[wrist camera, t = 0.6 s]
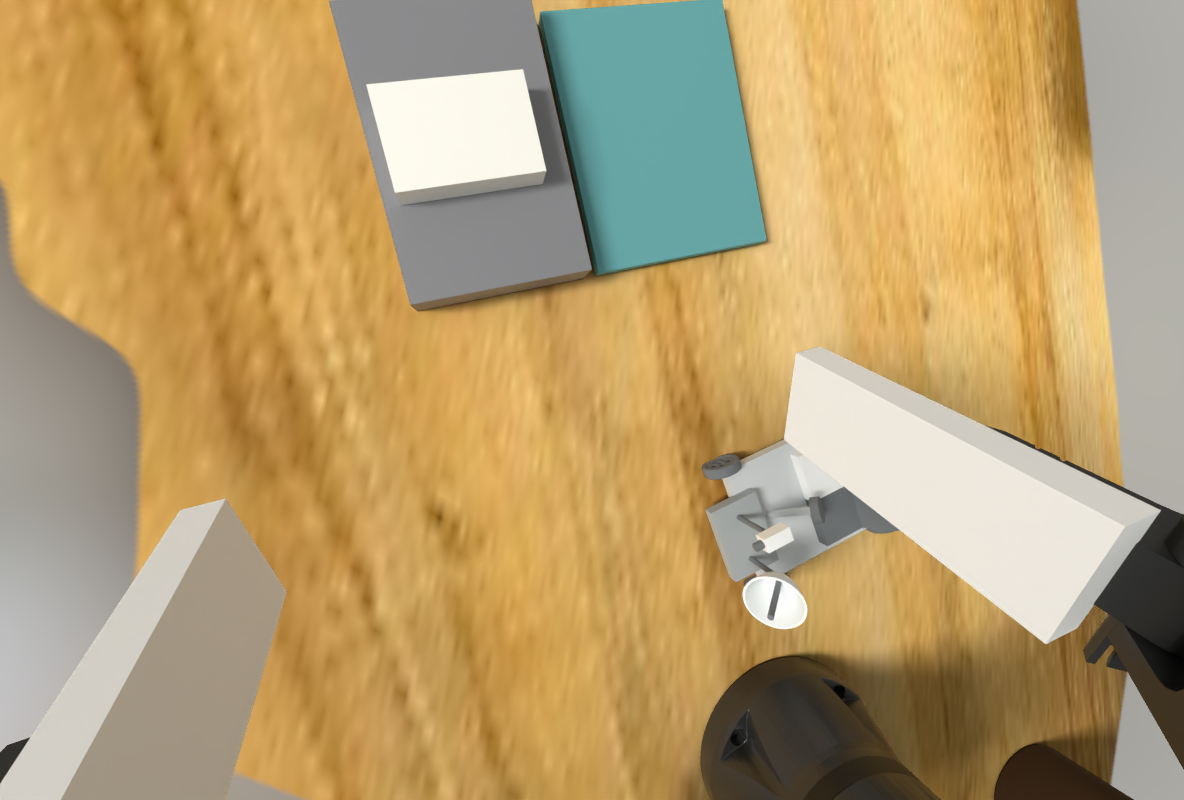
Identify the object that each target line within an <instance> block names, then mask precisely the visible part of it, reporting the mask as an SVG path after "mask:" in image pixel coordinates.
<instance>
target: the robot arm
mask: <svg viewBox="0 0 1184 800" xmlns="http://www.w3.org/2000/svg"><path fill="white" fill-rule="evenodd" d="M784 440H785V441H786V442H788V443H789V444H790V445H791V446H793V447H794V448H795V449H796V450H798V451H799V452H800V453H802V454H803V455H804V456H805V457H807V458H808V459H809V460H811V461H812V462H813V463H814V464H816V465H817V466H818V467H820V468H821V469H822V470H823V471H825V472H826V473H827V474H828V475H830V476H831V477H832V478H834V479H835V480H836V481H837V482H839V483H840V484H841V485H843V486H844V487H845V488H846V489H848V490H849V491H850V492H852V493H853V494H854V495H855V496H857V497H858V498H859V499H861V500H862V501H863V502H864V503H866V504H867V505H868V506H869V507H871V508H872V509H873V510H875V511H876V512H877V513H878V514H880V515H881V516H882V517H884V518H885V519H886V520H887V521H889V522H890V523H891V524H893V525H894V526H895V527H896V528H898V529H899V530H900V531H901V532H903V533H904V534H905V535H907V536H908V537H909V538H910V539H912V540H913V541H914V542H916V543H917V544H918V545H919V546H921V547H922V548H923V549H925V550H926V551H927V552H928V553H930V554H931V555H932V556H934V557H935V558H936V559H937V560H939V561H940V562H941V563H942V564H944V565H945V566H946V567H948V568H949V569H950V570H951V571H953V572H954V573H955V574H957V575H958V576H959V577H960V578H962V579H963V580H964V581H966V582H967V583H968V584H969V585H971V586H972V587H973V588H975V589H976V590H977V591H978V592H980V593H981V594H982V595H983V596H985V597H986V598H987V599H989V600H990V601H991V602H992V603H994V604H995V605H996V606H998V607H999V608H1000V609H1001V610H1003V611H1004V612H1005V613H1007V614H1008V615H1009V616H1010V617H1012V618H1013V619H1014V620H1015V621H1017V622H1018V623H1019V624H1021V625H1022V626H1023V627H1024V628H1026V629H1027V630H1028V631H1030V632H1031V633H1032V634H1033V635H1035V636H1036V637H1037V638H1039V639H1040V640H1041V641H1042V642H1044V643H1045V644H1047V643H1049V642H1051V641H1053V640H1055V639H1057V638H1059V637H1061V636H1063V635H1065V634H1067V633H1069V632H1071V631H1073V630H1075V629H1077V628H1078V627H1079V625H1080V624H1081V622H1082V621H1083V620H1084V618H1085V617H1086V615H1087V614H1088V613H1089V611H1090V610H1091V608H1092V607H1093V606H1094V605H1096V606H1097V607H1099V608H1100V609H1102V610H1103V611H1105V612H1106V613H1108V614H1109V615H1108V616H1107V617H1106V619H1105V620H1104V621H1103V623H1102V624H1101V625H1100V627H1099V628H1098V629H1097V631H1096V632H1095V633H1094V635H1093V636H1092V637H1091V639H1090V640H1089V641H1088V643H1087V645H1086V647H1085V648H1084V654H1085V659H1086V662H1089V663H1093V664H1095V663H1096V662H1097V660H1098V659H1099V658H1100V657H1101V655H1102V654H1103V653H1104V652H1105V650H1106V649H1107V648H1108V647H1109V645H1113V647H1114V649H1115V650H1114V651H1113V652H1112V654H1111V655H1110V656H1109V657H1108V660H1107V664H1106V665H1107V667H1110V668H1114V669H1118V670H1123V671H1127V672H1128V673H1129V675H1130V677H1131V678H1132V680H1133V682H1134V684H1135V685H1136V687H1137V689H1138V691H1139V692H1140V694H1141V696H1142V698H1143V699H1144V701H1145V703H1146V705H1147V706H1148V708H1149V710H1150V712H1151V713H1152V715H1153V717H1154V718H1155V720H1156V722H1157V724H1158V725H1159V727H1160V729H1161V731H1162V732H1163V734H1164V736H1165V738H1166V739H1167V741H1168V742H1169V745H1170V746H1171V748H1172V750H1173V752H1174V753H1175V755H1176V757H1177V758H1178V760H1179V762H1180V764H1181V765H1182V767H1183V769H1184V515H1183V514H1180V513H1178V512H1175V511H1173V510H1171V509H1168V508H1166V507H1164V506H1161V505H1159V504H1157V503H1155V502H1153V501H1151V500H1149V499H1147V498H1144V497H1142V496H1140V495H1138V494H1136V493H1134V492H1132V491H1130V490H1127V489H1125V488H1123V487H1121V486H1119V485H1117V484H1115V483H1113V482H1111V481H1109V480H1106V479H1104V478H1102V477H1100V476H1098V475H1096V474H1094V473H1092V472H1090V471H1087V470H1085V469H1083V468H1081V467H1079V466H1077V465H1075V464H1073V463H1071V462H1068V461H1064V462H1063V461H1061V460H1060V457H1058V456H1056V455H1054V454H1052V453H1049V452H1047V451H1045V450H1043V449H1036V448H1035V445H1033V444H1030V443H1028V442H1026V441H1024V440H1022V439H1020V438H1018V437H1016V436H1014V435H1011V434H1009V433H1007V432H1005V431H1002V430H998V429H995V428H992V427H988V426H985V425H982V424H980V423H978V422H976V421H974V420H972V419H970V418H968V417H966V416H964V415H962V414H960V413H957V412H955V411H953V410H951V409H949V408H947V407H945V406H943V405H941V404H939V403H937V402H935V401H933V400H930V399H928V398H926V397H924V396H922V395H920V394H918V393H916V392H914V391H912V390H910V389H908V388H905V387H903V386H901V385H899V384H897V383H895V382H893V381H891V380H889V379H887V378H885V377H883V376H880V375H878V374H876V373H874V372H872V371H870V370H868V369H866V368H864V367H862V366H860V365H858V364H855V363H853V362H851V361H849V360H847V359H845V358H843V357H841V356H839V355H837V354H835V353H833V352H831V351H828V350H826V349H824V348H822V347H817V348H813V349H809V350H806V351H802V352H798V353H796V357H795V364H794V371H793V378H792V386H791V393H790V400H789V407H788V414H787V421H786V428H785V435H784ZM286 592H287V591H286V590H285V588H284V587H283V585H282V584H281V582H280V580H279V579H278V577H277V576H276V574H275V573H274V571H273V570H272V568H271V567H270V565H269V564H268V562H267V561H266V559H265V558H264V556H263V554H262V553H261V551H260V550H259V548H258V547H257V545H256V544H255V542H254V541H253V539H252V538H251V536H250V535H249V533H248V532H247V530H246V529H245V527H244V525H243V524H242V522H241V521H240V519H239V518H238V516H237V515H236V513H235V512H234V510H233V509H232V507H231V506H230V504H229V503H228V501H227V499H222V500H218V501H214V502H210V503H206V504H202V505H199V506H195V507H191V508H187V509H183V510H180V511H179V513H178V514H177V516H176V517H175V519H174V520H173V522H172V523H171V525H170V526H169V528H168V529H167V531H166V533H165V534H164V536H163V537H162V539H161V540H160V542H159V543H158V545H157V546H156V548H155V549H154V551H153V552H152V554H151V555H150V557H149V558H148V560H147V561H146V563H145V564H144V566H143V567H142V569H141V570H140V572H139V574H138V575H137V577H136V578H135V580H134V581H133V583H132V584H131V586H130V587H129V589H128V590H127V592H126V593H125V595H124V596H123V598H122V599H121V601H120V602H119V604H118V606H117V607H116V608H115V610H114V612H113V613H112V615H111V616H110V618H109V619H108V621H107V622H106V624H105V625H104V627H103V628H102V630H101V631H100V633H99V634H98V636H97V637H96V639H95V640H94V642H93V643H92V645H91V647H90V648H89V650H88V651H87V653H86V654H85V656H84V657H83V659H82V660H81V662H80V663H79V665H78V666H77V668H76V669H75V671H74V672H73V674H72V675H71V677H70V678H69V680H68V681H67V683H66V685H65V686H64V688H63V689H62V691H61V692H60V694H59V695H58V697H57V698H56V700H55V701H54V703H53V704H52V706H51V707H50V709H49V710H48V712H47V713H46V715H45V716H44V718H43V719H42V721H41V722H40V724H39V726H38V727H37V728H36V730H35V732H34V733H33V735H32V736H31V737H30V738H27V739H25V740H21V741H18V742H15V743H12V744H9V745H7V746H6V747H5V748H4V749H3V750H2V751H1V752H0V800H226V796H227V793H228V789H229V786H230V783H231V780H232V776H233V773H234V769H235V766H236V763H237V759H238V756H239V752H240V749H241V746H242V742H243V739H244V735H245V732H246V729H247V725H248V722H249V718H250V715H251V712H252V708H253V705H254V701H255V698H256V695H257V691H258V688H259V684H260V681H261V678H262V674H263V671H264V667H265V664H266V661H267V657H268V654H269V650H270V647H271V644H272V640H273V637H274V633H275V630H276V626H277V623H278V620H279V616H280V613H281V609H282V606H283V603H284V599H285V596H286ZM701 772H702V777H703V781H704V785H705V787H706V790H707V792H708V794H709V796H710V798H711V800H940V799H939V798H938V797H937V796H936V795H935V794H934V793H933V792H932V791H931V790H930V789H929V788H927V787H926V786H925V785H924V784H923V783H922V782H921V781H920V780H919V779H918V778H917V777H915V776H914V775H913V774H912V773H911V772H910V771H909V770H908V769H907V768H906V767H905V766H904V765H903V764H902V763H901V762H900V761H899V759H898V758H897V756H896V754H895V753H894V751H893V750H892V748H891V746H890V745H889V743H888V742H887V740H886V739H885V737H884V735H883V734H882V732H881V731H880V729H879V727H878V726H877V724H876V723H875V721H874V719H873V718H872V716H871V715H870V713H869V711H868V710H867V708H866V707H865V705H864V704H863V702H862V700H861V699H860V698H859V696H858V695H857V694H856V693H855V692H854V690H853V689H852V688H851V687H850V686H849V685H848V684H846V683H845V682H844V681H843V680H842V679H841V678H839V677H838V676H837V675H836V674H835V673H834V672H833V671H831V670H830V669H829V668H827V667H826V666H824V665H823V664H821V663H819V662H816V661H814V660H810V659H806V658H800V657H786V658H780V659H775V660H772V661H769V662H766V663H763V664H761V665H759V666H757V667H755V668H753V669H752V670H750V671H749V672H747V673H746V674H744V675H743V676H742V677H741V678H739V679H738V680H737V681H736V682H735V683H734V684H733V685H732V686H731V687H730V688H729V689H728V690H727V691H726V693H725V694H724V695H723V696H722V698H721V699H720V700H719V702H718V704H717V705H716V707H715V709H714V710H713V712H712V714H711V716H710V718H709V721H708V723H707V726H706V729H705V732H704V736H703V740H702V746H701Z"/></svg>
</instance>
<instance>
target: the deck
mask: <svg viewBox="0 0 1184 800" xmlns="http://www.w3.org/2000/svg"><path fill="white" fill-rule="evenodd" d="M329 3H330V7H331V11H332V14H333V18H334V22H335V26H336V29H337V33H338V37H339V41H340V44H341V48H342V52H343V55H344V59H345V63H346V67H347V70H348V74H349V78H350V82H351V85H352V89H353V93H354V96H355V100H356V104H357V108H358V111H359V115H360V119H361V123H362V126H363V130H364V134H365V137H366V141H367V145H368V149H369V152H370V156H371V160H372V164H373V167H374V171H375V175H376V178H377V182H378V186H379V190H380V193H381V197H382V201H383V205H384V208H385V212H386V216H387V220H388V223H389V227H390V231H391V234H392V238H393V242H394V246H395V249H396V253H397V257H398V261H399V264H400V268H401V272H402V275H403V279H404V283H405V287H406V290H407V294H408V298H409V302H410V305H411V306H412V307H413V308H414V309H416V310H417V311H421V310H426V309H431V308H436V307H441V306H447V305H452V304H457V303H462V302H467V301H472V300H477V299H482V298H487V297H492V296H497V295H502V294H507V293H512V292H518V291H523V290H528V289H533V288H538V287H543V286H548V285H553V284H558V283H563V282H568V281H573V280H578V279H583V278H584V277H585V276H586V275H587V274H588V273H589V272H590V271H591V270H592V268H591V263H590V259H589V254H588V250H587V245H586V241H585V236H584V232H583V228H582V223H581V219H580V214H579V210H578V205H577V201H576V196H575V192H574V188H573V183H572V179H571V174H570V170H569V165H568V161H567V157H566V152H565V148H564V143H563V139H562V134H561V130H560V125H559V121H558V117H557V112H556V108H555V103H554V99H553V94H552V90H551V85H550V81H549V77H548V72H547V68H546V63H545V59H544V54H543V50H542V45H541V41H540V37H539V32H538V28H537V23H536V19H535V14H534V10H533V5H532V1H531V0H333V1H329ZM520 69H523V71H524V76H525V80H526V84H527V89H528V93H529V97H530V102H531V106H532V110H533V115H534V119H535V123H536V128H537V132H538V136H539V141H540V145H541V150H542V154H543V158H544V163H545V167H546V174H545V178H544V181H543V184H540V185H533V186H526V187H520V188H513V189H506V190H500V191H493V192H487V193H480V194H473V195H467V196H460V197H453V198H447V199H440V200H433V201H427V202H420V203H413V204H407V205H401V204H400V202H399V200H398V198H397V196H396V194H395V191H394V188H393V184H392V180H391V176H390V172H389V169H388V165H387V161H386V157H385V154H384V150H383V146H382V142H381V138H380V135H379V131H378V127H377V123H376V120H375V116H374V112H373V108H372V105H371V101H370V97H369V93H368V89H367V86H366V84H375V83H385V82H396V81H406V80H416V79H427V78H437V77H447V76H458V75H468V74H478V73H489V72H499V71H509V70H520Z"/></svg>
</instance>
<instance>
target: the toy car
mask: <svg viewBox="0 0 1184 800" xmlns="http://www.w3.org/2000/svg"><path fill="white" fill-rule="evenodd" d="M702 470H703V473H704V476H705V477H706V478H707V479H711V480H718V479H722V480H723V483H724V486H725V488H726V491H727V494H728V497H729V498H728V499H726V500H724V501H722V502H719V503H717V504H715V505H713V506H711V507H709V508H707V509H705V511H706V513H707V516H708V519H709V522H710V524H711V527H712V530H713V533H714V535H715V538H716V541H717V544H718V546H719V549H720V552H721V555H722V557H723V560H724V563H725V566H726V568H727V571H728V574H729V577H730V578H732V579H733V580H734V581H735V582H738V581H740V580H742V579H744V578H745V577H747V576H749V575H751V574H753V573H756V575H755V576H752V577H749V578H747V579H745V581H744V589H743V600H744V604H745V605H746V607H747V609H748V610H749V612H750V613H751V614H752V615H753V616H754V617H755V618H756V619H758V620H759V621H760V622H762V623H764V624H766V625H768V626H771V627H774V628H779V629H791V628H794V627H797V626H799V625H800V624H802V623H803V622H804V620H805V618H806V616H807V605H806V602H805V600H804V598H803V596H802V594H801V592H800V590H799V588H798V587H797V586H796V584H795V583H794V582H793V581H792V580H791V579H790V578H789V577H788V576H787V575H785V574H784V573H786V572H788V571H789V570H791V569H793V568H795V567H797V566H799V565H801V564H802V563H804V562H806V561H808V560H810V559H812V558H813V557H815V556H817V555H819V554H821V553H823V552H824V551H826V550H828V549H830V548H832V547H834V546H836V545H837V544H839V543H841V542H843V541H845V540H847V539H848V538H850V537H852V536H854V535H856V534H858V533H860V532H861V531H863V530H865V529H866V530H868V531H870V532H873V533H890V532H894V531H900V530H899V529H898V528H896V527H895V526H894V525H893V524H891V523H890V522H889V521H887V520H886V519H885V518H884V517H882V516H881V515H880V514H878V513H877V512H876V511H875V510H873V509H872V508H871V507H869V506H868V505H867V504H866V503H864V502H863V501H862V500H861V499H859V498H858V497H857V496H855V495H854V494H853V493H852V492H850V491H849V490H848V489H846V488H845V487H844V486H843V485H841V484H840V483H839V482H837V481H836V480H835V479H834V478H832V477H831V476H830V475H828V474H827V473H826V472H825V471H823V470H822V469H821V468H820V467H818V466H817V465H816V464H814V463H813V462H812V461H811V460H809V459H808V458H807V457H805V456H804V455H803V454H802V453H800V452H799V451H798V450H796V449H795V448H794V447H793V446H791V445H790V444H789V443H788V442H786V441H785V440H781V441H779V442H777V443H775V444H773V445H771V446H769V447H767V448H765V449H763V450H760V451H758V452H756V453H754V454H752V455H750V456H748V457H746V458H744V459H742V460H740V458H739V457H738V456H737V455H734V454H727V455H722V456H719V457H718V458H716V459H715V460H712V461H709V462H707V463H705V464H703V466H702Z"/></svg>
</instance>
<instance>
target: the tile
mask: <svg viewBox="0 0 1184 800" xmlns="http://www.w3.org/2000/svg"><path fill="white" fill-rule="evenodd" d="M366 86H367V89H368V93H369V97H370V101H371V105H372V108H373V112H374V116H375V120H376V123H377V127H378V131H379V135H380V138H381V142H382V146H383V150H384V154H385V157H386V161H387V165H388V169H389V172H390V176H391V180H392V184H393V188H394V191H395V194H396V196H397V198H398V200H399V202H400V204H401V205H407V204H413V203H420V202H427V201H433V200H440V199H447V198H453V197H460V196H467V195H473V194H480V193H487V192H493V191H500V190H506V189H513V188H520V187H526V186H533V185H540V184H543V181H544V178H545V174H546V167H545V163H544V158H543V154H542V150H541V145H540V141H539V136H538V132H537V128H536V123H535V119H534V115H533V110H532V106H531V102H530V97H529V93H528V89H527V84H526V80H525V76H524V71H523V69H520V70H509V71H499V72H489V73H478V74H468V75H458V76H447V77H437V78H427V79H416V80H406V81H396V82H385V83H375V84H366Z"/></svg>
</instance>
